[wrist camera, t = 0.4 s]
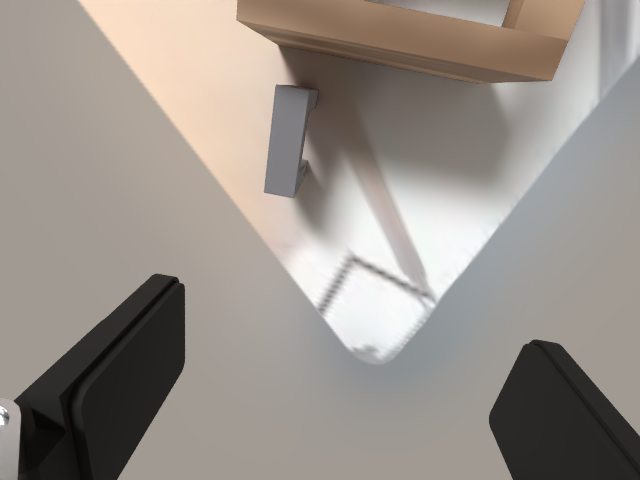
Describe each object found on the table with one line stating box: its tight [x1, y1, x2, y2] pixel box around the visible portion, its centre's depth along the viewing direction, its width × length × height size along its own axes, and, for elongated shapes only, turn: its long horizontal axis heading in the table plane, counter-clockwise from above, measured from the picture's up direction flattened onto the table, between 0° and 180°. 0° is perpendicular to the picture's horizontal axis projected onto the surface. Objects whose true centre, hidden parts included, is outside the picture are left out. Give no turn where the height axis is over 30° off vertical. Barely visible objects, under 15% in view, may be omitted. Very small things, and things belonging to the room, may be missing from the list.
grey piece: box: [264, 85, 319, 198], centre depth 29 cm, size 8×2×8 cm, turn 170°
